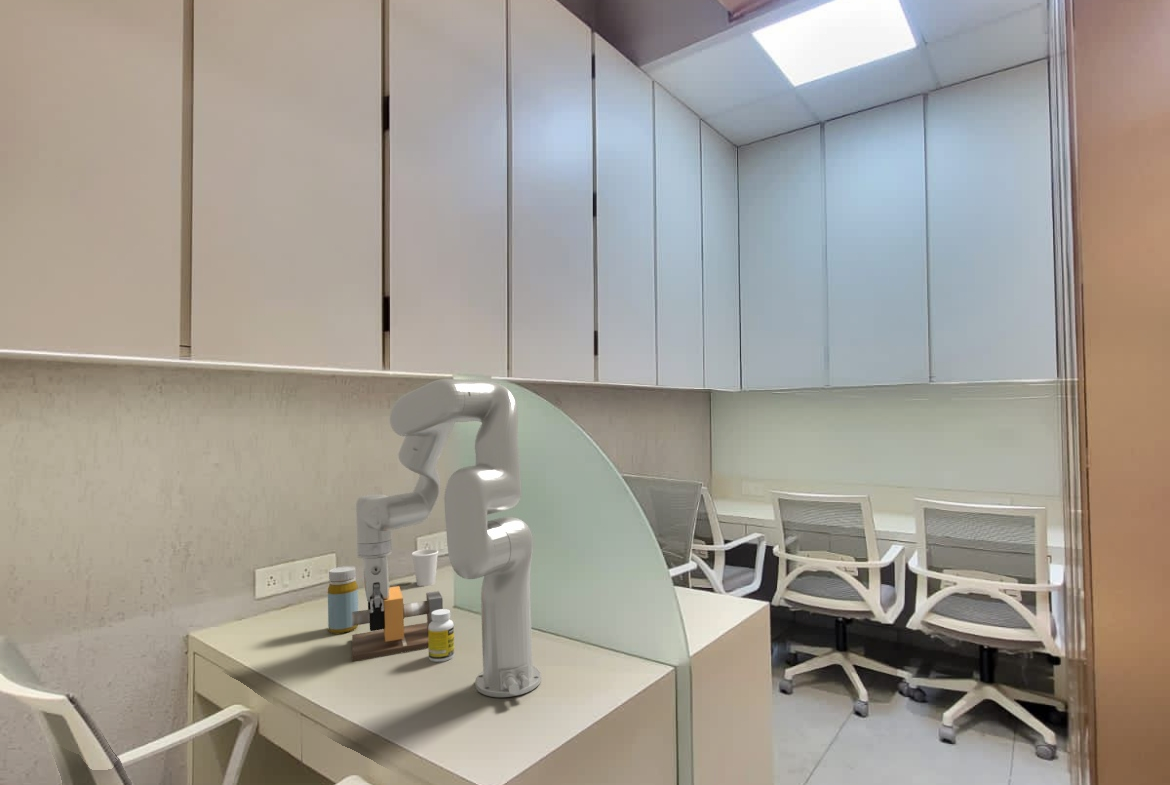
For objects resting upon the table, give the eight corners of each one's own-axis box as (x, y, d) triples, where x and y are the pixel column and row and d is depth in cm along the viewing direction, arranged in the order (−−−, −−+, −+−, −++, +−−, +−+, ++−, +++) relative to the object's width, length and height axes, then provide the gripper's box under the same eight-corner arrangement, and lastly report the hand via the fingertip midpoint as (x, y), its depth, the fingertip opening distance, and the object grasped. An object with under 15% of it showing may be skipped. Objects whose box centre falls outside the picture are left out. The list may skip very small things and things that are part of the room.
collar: (404, 638, 132) (403, 598, 133) (385, 641, 131) (384, 600, 131) (400, 623, 142) (399, 586, 143) (382, 626, 141) (381, 588, 141)
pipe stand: (446, 644, 134) (444, 602, 135) (352, 661, 127) (351, 616, 127) (437, 625, 147) (436, 587, 148) (352, 639, 140) (351, 599, 140)
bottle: (347, 635, 143) (346, 573, 144) (322, 634, 145) (321, 572, 145) (364, 624, 150) (362, 565, 151) (339, 624, 151) (338, 565, 152)
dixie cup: (434, 578, 193) (433, 547, 193) (443, 583, 186) (442, 552, 186) (409, 583, 188) (408, 551, 189) (416, 589, 181) (415, 556, 182)
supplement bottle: (452, 661, 124) (451, 615, 125) (426, 663, 124) (425, 616, 125) (456, 651, 130) (454, 607, 130) (431, 653, 129) (430, 608, 130)
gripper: (394, 553, 130) (396, 632, 129) (389, 540, 146) (390, 609, 145) (358, 558, 127) (359, 638, 126) (356, 543, 143) (358, 614, 142)
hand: (376, 623), depth 135 cm, fingers open, 9 cm apart
